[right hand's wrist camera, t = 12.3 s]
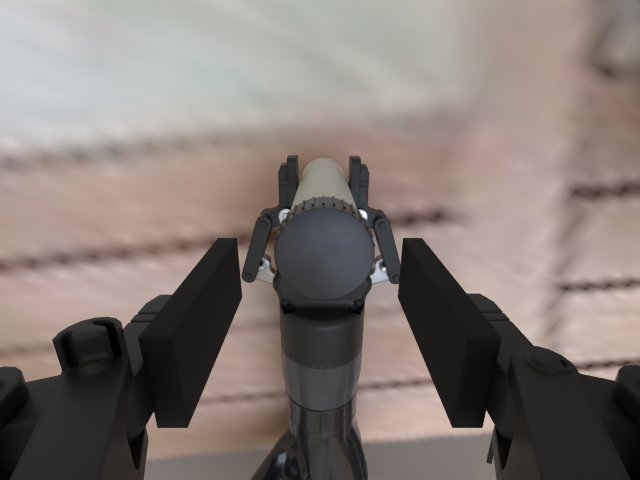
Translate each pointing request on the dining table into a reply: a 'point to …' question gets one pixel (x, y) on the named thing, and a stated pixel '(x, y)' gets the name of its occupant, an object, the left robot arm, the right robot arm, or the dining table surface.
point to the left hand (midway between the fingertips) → (323, 157)
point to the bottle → (323, 182)
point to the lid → (324, 248)
